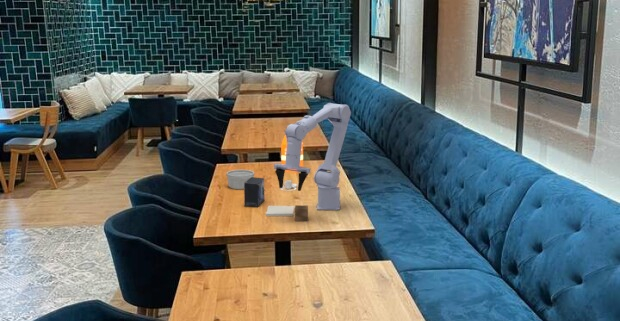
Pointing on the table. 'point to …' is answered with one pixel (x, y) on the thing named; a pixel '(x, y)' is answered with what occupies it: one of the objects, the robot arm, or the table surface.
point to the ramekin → (238, 178)
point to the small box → (254, 192)
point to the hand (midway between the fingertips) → (290, 189)
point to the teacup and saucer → (289, 185)
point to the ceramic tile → (280, 211)
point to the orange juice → (283, 154)
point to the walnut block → (301, 213)
